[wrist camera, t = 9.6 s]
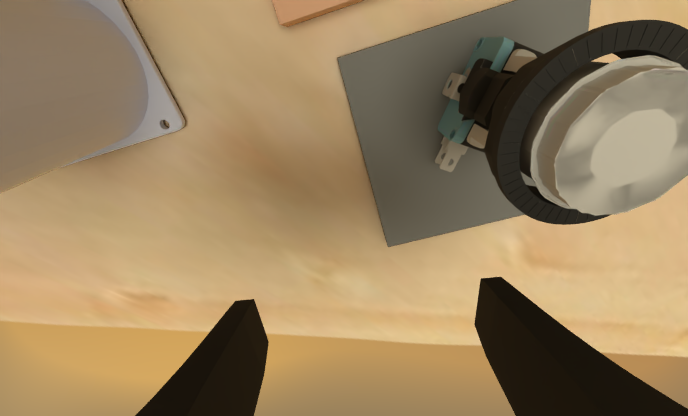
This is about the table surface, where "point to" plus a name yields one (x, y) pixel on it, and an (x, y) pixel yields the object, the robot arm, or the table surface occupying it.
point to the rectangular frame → (306, 9)
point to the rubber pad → (438, 116)
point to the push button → (576, 119)
